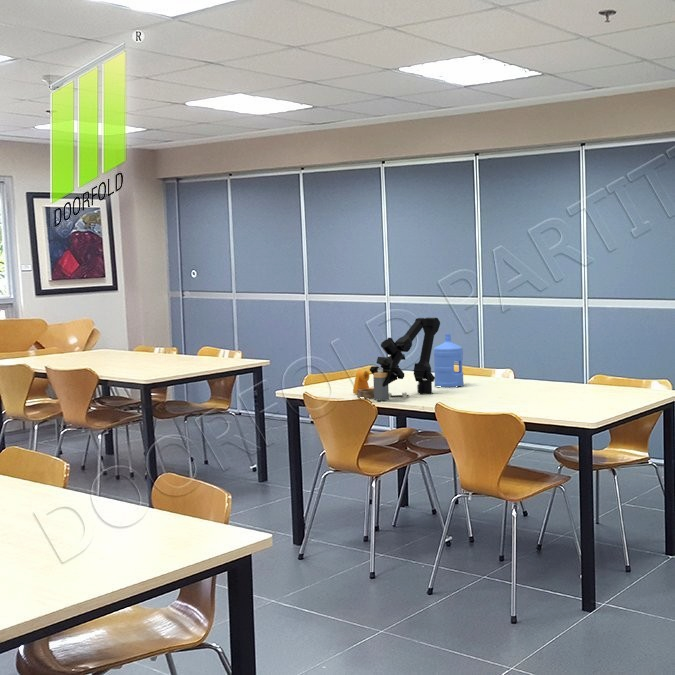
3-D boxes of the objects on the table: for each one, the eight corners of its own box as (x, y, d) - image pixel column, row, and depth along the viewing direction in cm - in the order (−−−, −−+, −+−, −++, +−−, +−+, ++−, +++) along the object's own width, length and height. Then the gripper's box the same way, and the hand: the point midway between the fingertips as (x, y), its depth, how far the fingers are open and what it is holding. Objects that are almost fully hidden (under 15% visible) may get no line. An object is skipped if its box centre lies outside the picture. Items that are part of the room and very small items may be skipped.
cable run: (408, 396, 459) (408, 394, 459) (408, 397, 457) (408, 395, 457) (379, 397, 461) (379, 395, 461) (379, 397, 459) (379, 395, 459)
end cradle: (376, 395, 466) (376, 388, 466) (381, 398, 456) (380, 390, 456) (357, 396, 464) (357, 389, 464) (361, 399, 455) (361, 391, 454)
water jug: (433, 388, 491) (432, 335, 489) (435, 384, 506) (434, 333, 504) (463, 387, 488) (462, 335, 486) (464, 384, 504) (462, 333, 502)
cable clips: (406, 396, 460) (406, 392, 460) (406, 397, 457) (406, 393, 457) (386, 396, 461) (386, 392, 461) (386, 397, 457) (386, 393, 457)
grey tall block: (381, 398, 450) (380, 369, 449) (388, 399, 446) (387, 369, 445) (374, 399, 446) (373, 370, 445) (381, 400, 442) (380, 370, 442)
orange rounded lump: (364, 395, 469) (363, 372, 468) (353, 395, 473) (352, 371, 473) (377, 393, 477) (376, 370, 476) (365, 392, 482) (365, 369, 481)
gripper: (371, 349, 454) (356, 374, 447) (399, 351, 441) (384, 376, 434) (382, 364, 460) (368, 388, 453) (411, 365, 447) (396, 391, 440)
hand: (379, 385), depth 445 cm, fingers closed on grey tall block, 5 cm apart
